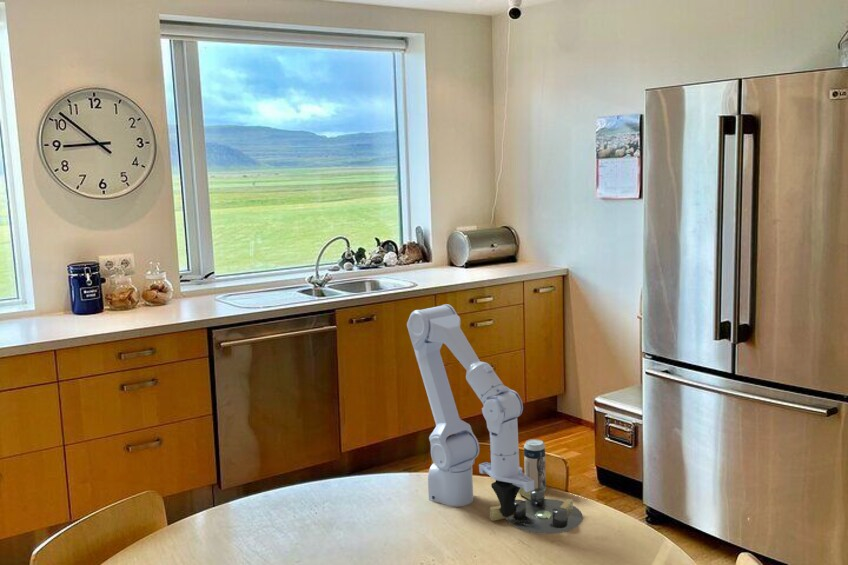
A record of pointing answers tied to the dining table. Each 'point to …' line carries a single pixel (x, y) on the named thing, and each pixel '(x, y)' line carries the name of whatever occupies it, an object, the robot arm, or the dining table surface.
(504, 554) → the dining table surface
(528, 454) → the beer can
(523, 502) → the inner lever
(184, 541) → the dining table surface
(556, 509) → the outer lever
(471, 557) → the dining table surface
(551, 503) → the base plate
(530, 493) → the rear lever
